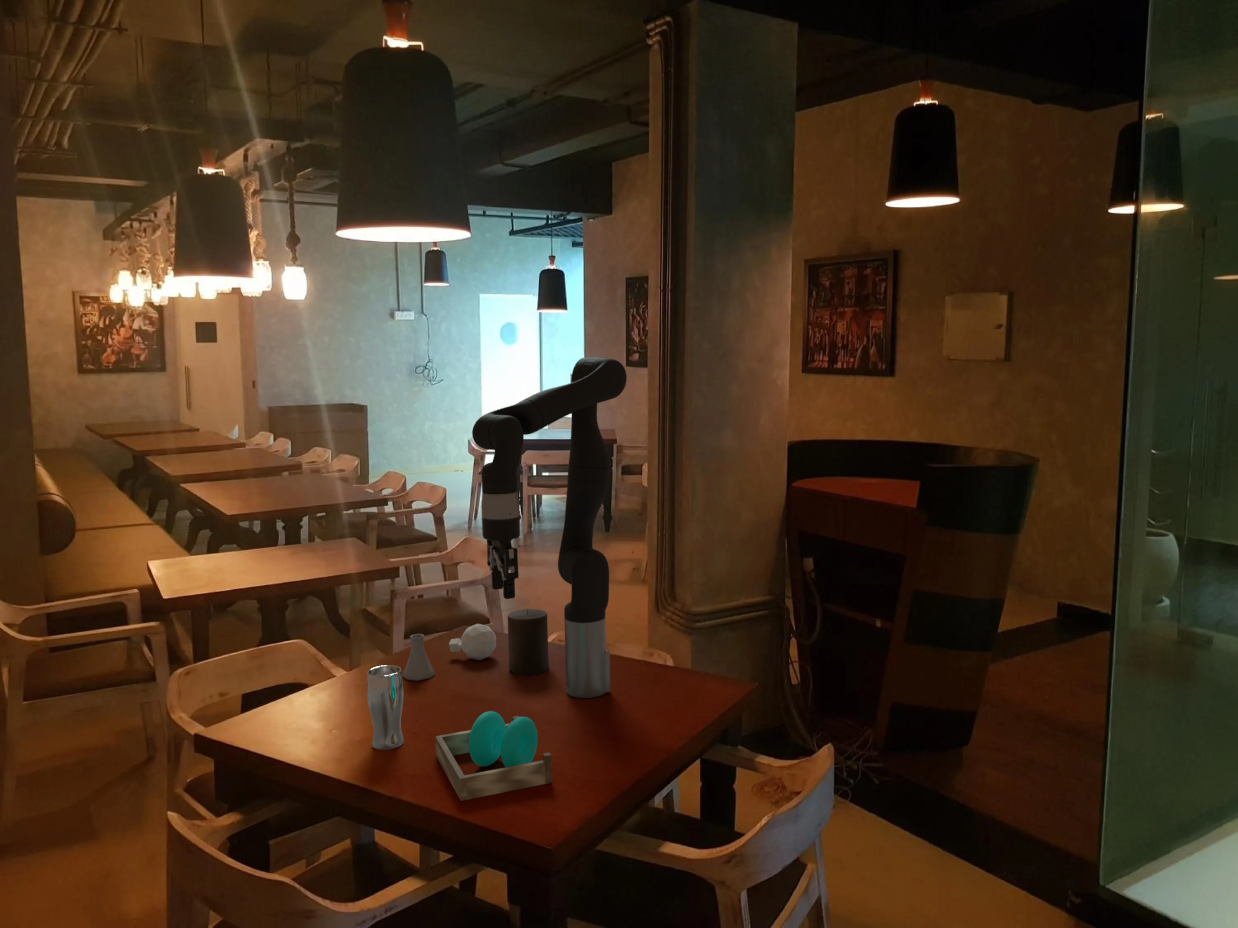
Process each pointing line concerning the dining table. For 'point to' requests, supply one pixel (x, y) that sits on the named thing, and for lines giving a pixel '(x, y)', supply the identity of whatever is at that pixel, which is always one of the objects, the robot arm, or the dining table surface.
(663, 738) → the dining table surface
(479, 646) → the perfume bottle
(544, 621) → the pillar candle
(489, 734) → the teal diabolo
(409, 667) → the flask
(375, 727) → the beer glass
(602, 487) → the robot arm
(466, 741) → the box
